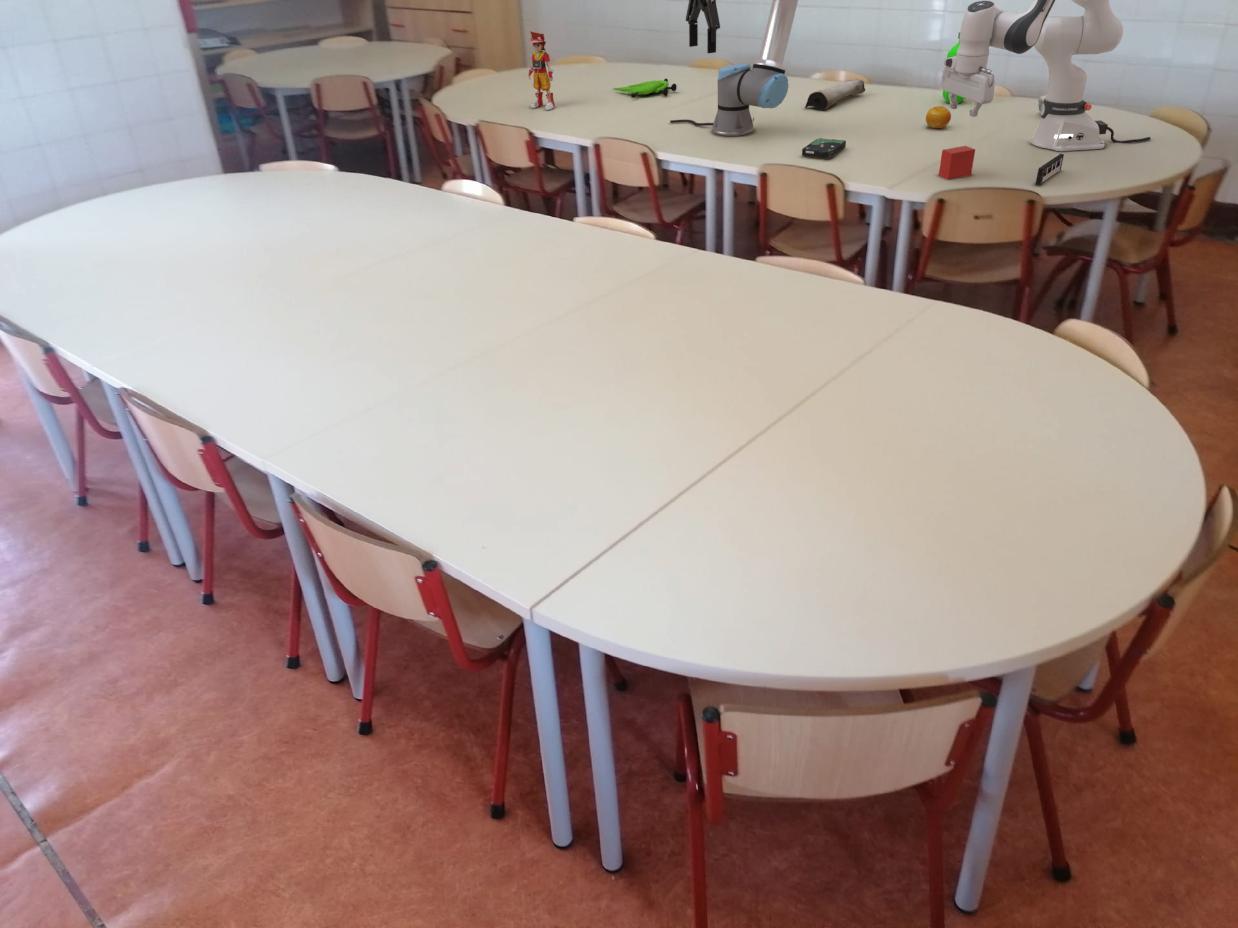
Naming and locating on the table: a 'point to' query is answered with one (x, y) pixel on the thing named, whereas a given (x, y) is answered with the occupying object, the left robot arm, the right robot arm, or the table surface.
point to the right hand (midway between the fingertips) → (963, 112)
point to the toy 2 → (648, 88)
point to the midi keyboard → (1049, 169)
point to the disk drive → (823, 148)
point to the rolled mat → (834, 94)
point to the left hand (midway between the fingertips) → (702, 49)
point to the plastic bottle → (951, 53)
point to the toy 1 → (541, 71)
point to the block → (956, 162)
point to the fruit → (938, 117)
